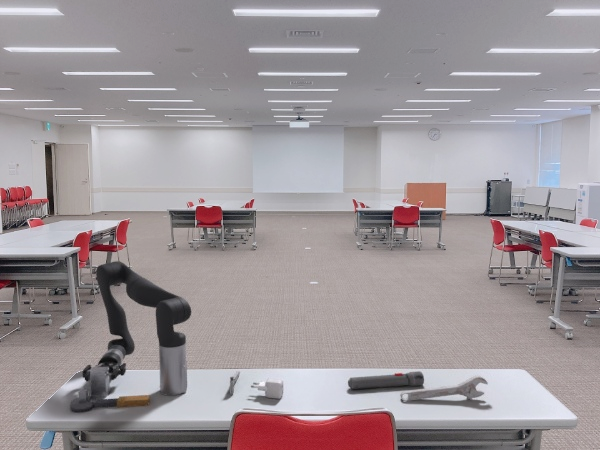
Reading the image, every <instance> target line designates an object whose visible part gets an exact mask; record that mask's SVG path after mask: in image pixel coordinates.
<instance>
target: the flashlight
mask: <svg viewBox="0 0 600 450" xmlns="http://www.w3.org/2000/svg"><path fill="white" fill-rule="evenodd" d="M424 384H425V378H424V373H423V372H422V371H420V370H419V371H409V372H407V373H403V372H398V373H397V372H396V373H394V374H384V375H383V374H382V375H371V376H357V377H356V376H354V377H349V379H348V381H347V385H348V387H349V388H350V389H351V390H359V389H361V390H362V389H372V388H385V387H386V388H387V387H397V386H398V387H400V386H410V387H417V386H420V387H421V386H423V385H424Z"/></svg>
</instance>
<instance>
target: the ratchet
mask: <svg viewBox="0 0 600 450" xmlns="http://www.w3.org/2000/svg"><path fill="white" fill-rule="evenodd" d="M77 395H78V397H76V398H73V399H72V400H71V401H70V402H69V405H70V411H71V412H72V413H85V412H90V411H92V410H94V409H99V408H102V409H103V408H114V407H117V408H125V407H128V408H129V407H143V406H149V404H150V401H151V395H150V394H143V395H124V396H123V395H122V396H119V397H117V398H99V399H97V398H96V397H94V396H91V395H89V388H83V389H82V388H81V389H79V391H77Z"/></svg>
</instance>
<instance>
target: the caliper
mask: <svg viewBox="0 0 600 450" xmlns="http://www.w3.org/2000/svg"><path fill="white" fill-rule="evenodd" d="M240 373H241V372H240V371H239V370H237V371H236V372H235V373H234V375H233V376H230V378H229V379H230V381H229V395H230V396H233V395H234V393H235V392H234V391H235V385H236V381H237V380H238V378H239V376H240Z"/></svg>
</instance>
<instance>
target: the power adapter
mask: <svg viewBox="0 0 600 450" xmlns="http://www.w3.org/2000/svg"><path fill="white" fill-rule="evenodd" d="M252 384H253V385H250V388H252V389H254V388H255V389H257V390H258V391H263V392H264V396H265V397H266V398H268V399H275V400H278V399H279V400H280V399H281V398H283V395H284V380H283V379H281V378H280V379H279V378H270V377H269V378H267V379H266V380H265V381H260V382H253V383H252Z"/></svg>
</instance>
